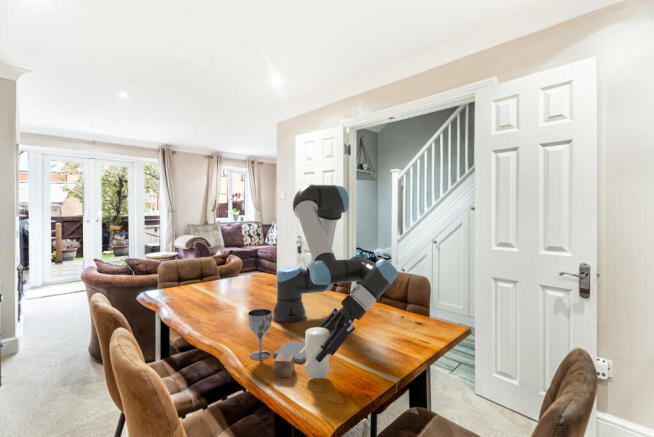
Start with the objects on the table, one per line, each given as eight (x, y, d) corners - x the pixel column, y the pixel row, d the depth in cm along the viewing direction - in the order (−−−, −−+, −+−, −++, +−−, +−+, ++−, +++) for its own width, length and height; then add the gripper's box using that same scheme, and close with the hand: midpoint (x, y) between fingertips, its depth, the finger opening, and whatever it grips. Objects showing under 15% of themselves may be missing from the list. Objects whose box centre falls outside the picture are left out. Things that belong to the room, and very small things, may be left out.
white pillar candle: (300, 374, 90) (301, 334, 89) (312, 363, 96) (312, 325, 96) (322, 380, 87) (322, 338, 86) (332, 368, 93) (333, 329, 93)
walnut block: (274, 377, 93) (274, 360, 93) (278, 368, 98) (278, 353, 98) (290, 378, 92) (290, 361, 92) (294, 369, 97) (294, 353, 97)
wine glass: (250, 350, 110) (250, 308, 110) (272, 349, 111) (272, 308, 110) (246, 361, 102) (246, 316, 102) (270, 360, 103) (270, 315, 103)
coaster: (273, 356, 106) (273, 352, 106) (290, 343, 116) (290, 340, 116) (301, 363, 101) (301, 359, 101) (316, 349, 111) (316, 346, 111)
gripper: (339, 286, 103) (291, 339, 99) (362, 304, 84) (303, 371, 80) (354, 300, 105) (307, 353, 101) (380, 321, 85) (323, 388, 82)
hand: (305, 361), depth 90 cm, fingers closed on white pillar candle, 7 cm apart
